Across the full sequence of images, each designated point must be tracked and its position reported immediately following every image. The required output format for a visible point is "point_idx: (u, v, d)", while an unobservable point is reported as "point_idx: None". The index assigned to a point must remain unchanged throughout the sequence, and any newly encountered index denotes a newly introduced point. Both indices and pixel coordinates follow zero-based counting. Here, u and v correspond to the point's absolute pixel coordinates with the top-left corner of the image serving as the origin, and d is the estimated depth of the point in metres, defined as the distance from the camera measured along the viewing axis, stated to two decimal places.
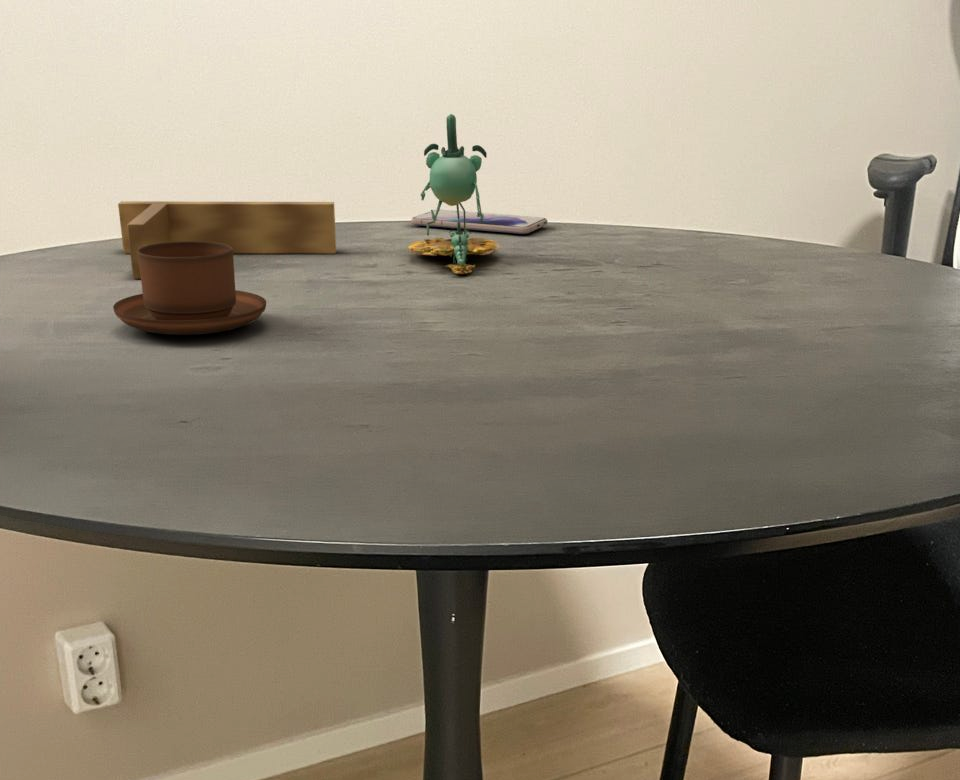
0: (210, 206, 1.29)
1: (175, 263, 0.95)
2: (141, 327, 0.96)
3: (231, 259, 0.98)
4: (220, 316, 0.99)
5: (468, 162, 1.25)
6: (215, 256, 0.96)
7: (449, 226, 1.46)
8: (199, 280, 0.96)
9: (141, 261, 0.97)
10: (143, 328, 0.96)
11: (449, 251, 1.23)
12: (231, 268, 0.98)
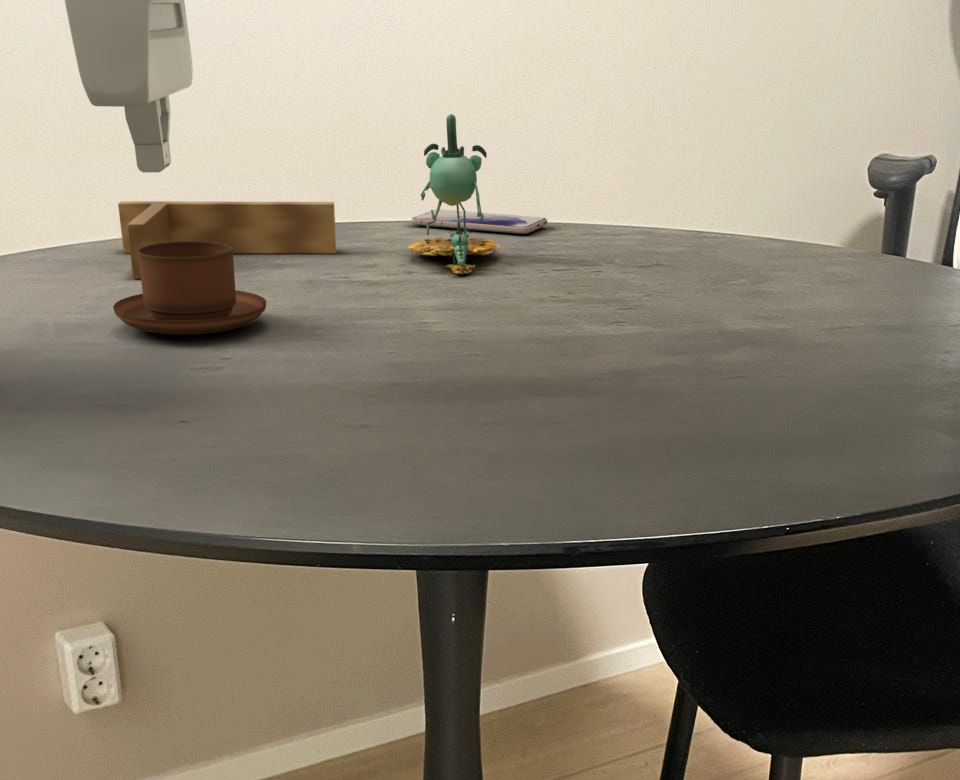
0: (210, 206, 1.29)
1: (175, 263, 0.95)
2: (141, 327, 0.96)
3: (231, 259, 0.98)
4: (220, 316, 0.99)
5: (468, 162, 1.25)
6: (215, 256, 0.96)
7: (449, 226, 1.46)
8: (199, 280, 0.96)
9: (141, 261, 0.97)
10: (143, 328, 0.96)
11: (449, 251, 1.23)
12: (231, 268, 0.98)
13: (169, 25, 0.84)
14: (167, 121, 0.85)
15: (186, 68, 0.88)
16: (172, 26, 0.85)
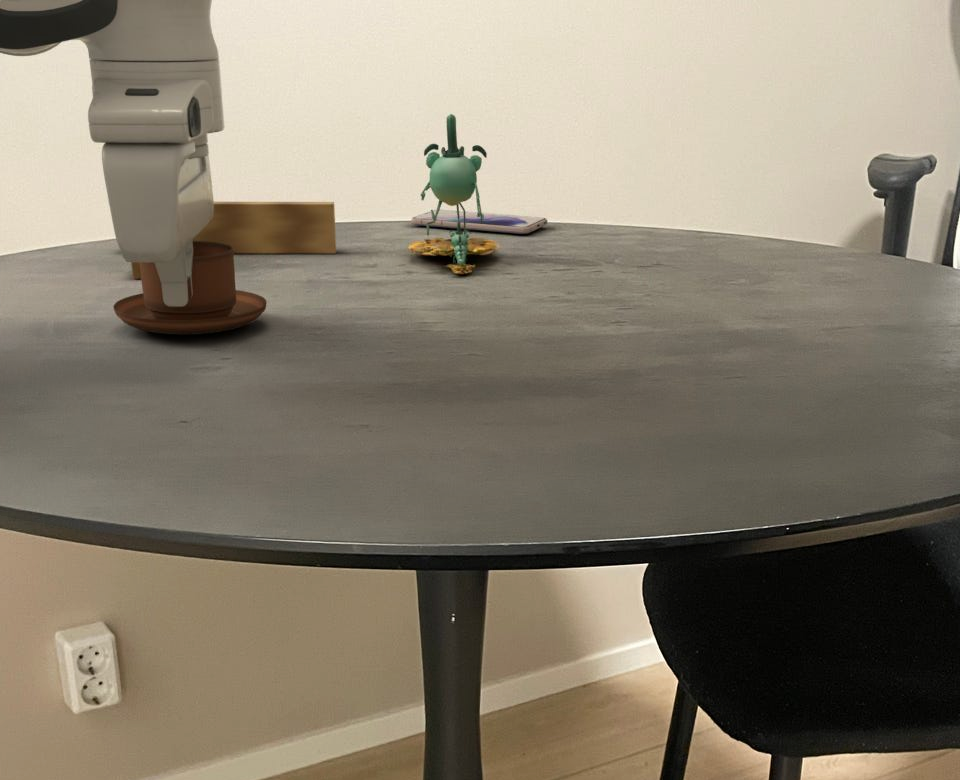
0: None
1: None
2: (141, 327, 0.96)
3: (231, 259, 0.98)
4: (220, 316, 0.99)
5: (468, 162, 1.25)
6: (216, 256, 0.96)
7: (449, 226, 1.46)
8: (199, 279, 0.96)
9: None
10: (143, 328, 0.96)
11: (449, 251, 1.23)
12: (231, 268, 0.99)
13: (194, 175, 0.93)
14: (190, 259, 0.94)
15: (208, 207, 0.98)
16: (196, 174, 0.94)
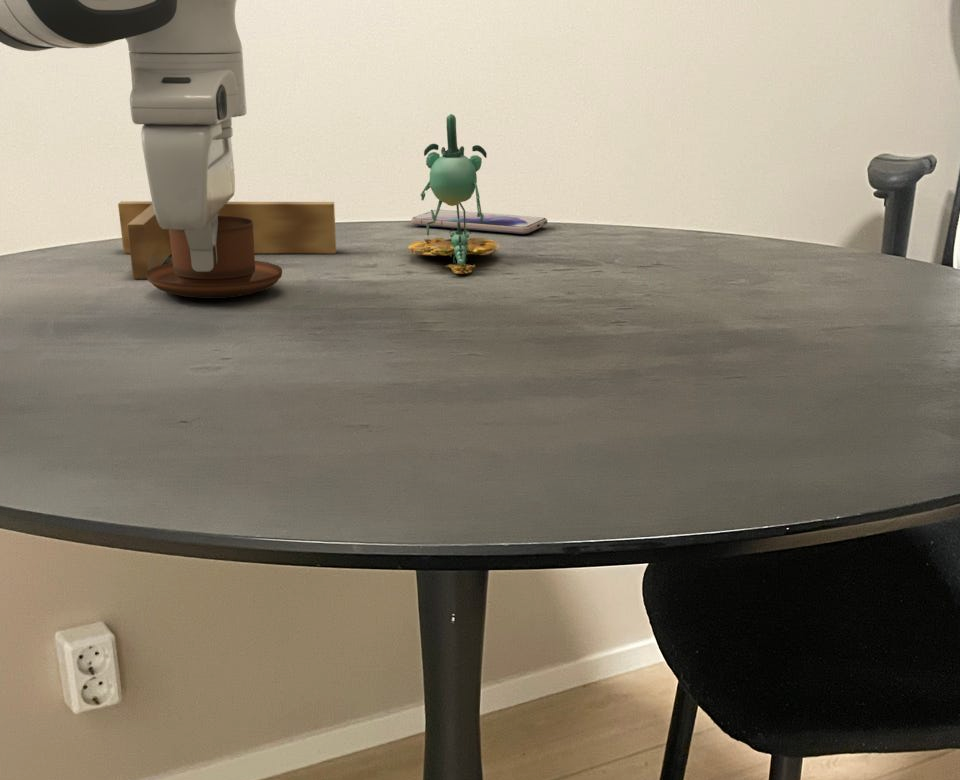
0: None
1: None
2: (172, 291, 1.08)
3: (251, 230, 1.10)
4: (241, 282, 1.11)
5: (468, 162, 1.25)
6: (238, 228, 1.09)
7: (449, 226, 1.46)
8: (223, 249, 1.08)
9: (171, 232, 1.09)
10: (173, 291, 1.08)
11: (449, 251, 1.23)
12: (251, 239, 1.11)
13: (219, 155, 1.05)
14: (215, 230, 1.07)
15: (230, 184, 1.10)
16: (221, 154, 1.06)
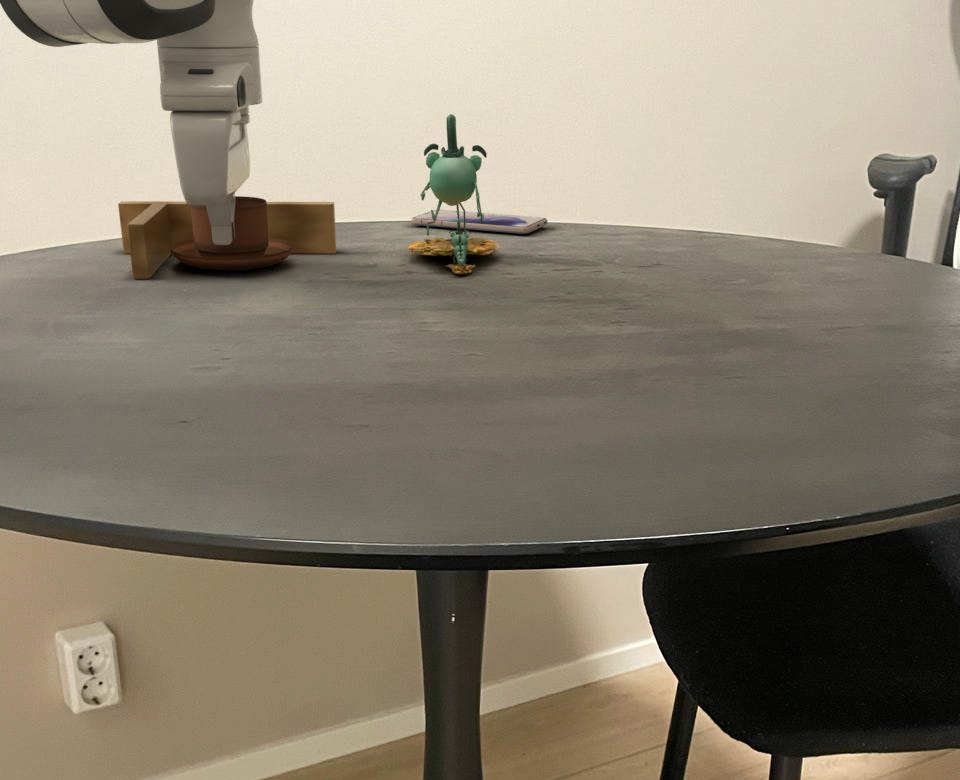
0: None
1: None
2: (193, 263, 1.20)
3: (265, 209, 1.22)
4: (256, 256, 1.22)
5: (468, 162, 1.25)
6: (253, 206, 1.20)
7: (449, 226, 1.46)
8: (240, 225, 1.20)
9: (193, 210, 1.20)
10: (195, 264, 1.20)
11: (449, 251, 1.23)
12: (265, 217, 1.22)
13: (237, 139, 1.17)
14: (233, 208, 1.18)
15: (246, 167, 1.21)
16: (238, 139, 1.18)
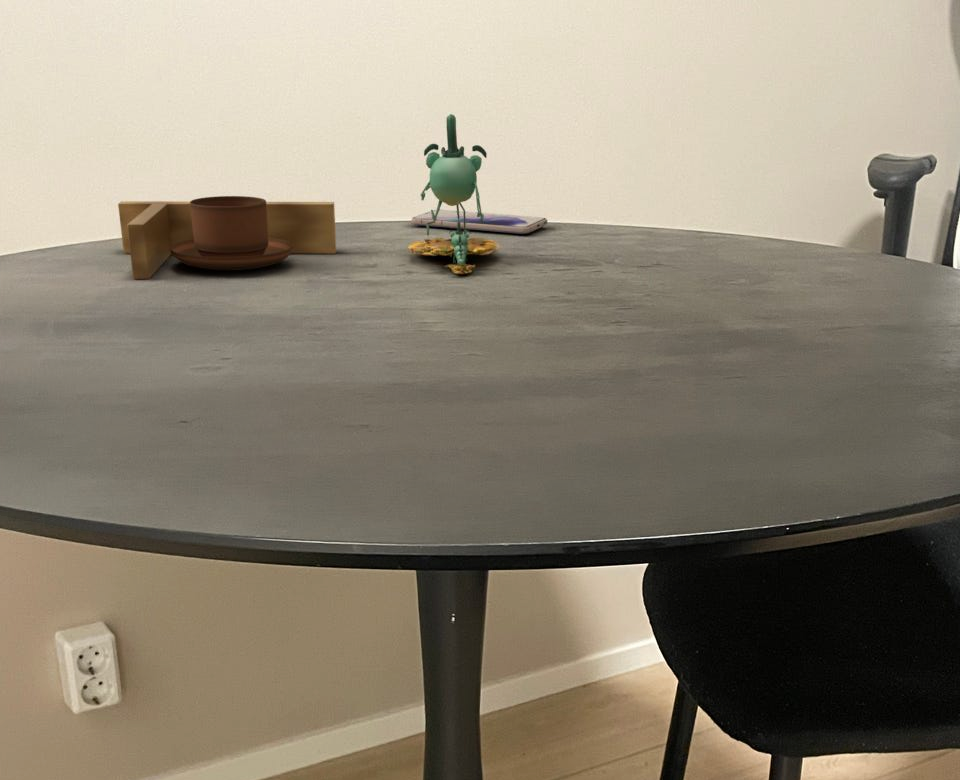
0: None
1: (221, 211, 1.19)
2: (193, 263, 1.20)
3: (265, 209, 1.22)
4: (256, 256, 1.22)
5: (468, 162, 1.25)
6: (253, 206, 1.20)
7: (449, 226, 1.46)
8: (239, 225, 1.20)
9: (193, 210, 1.20)
10: (195, 264, 1.20)
11: (449, 251, 1.23)
12: (265, 217, 1.22)
13: None
14: None
15: None
16: None
